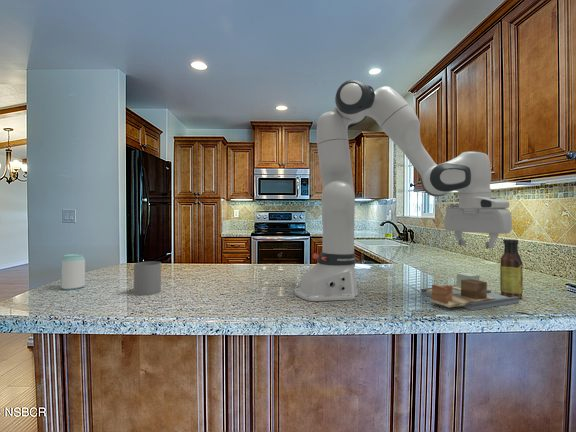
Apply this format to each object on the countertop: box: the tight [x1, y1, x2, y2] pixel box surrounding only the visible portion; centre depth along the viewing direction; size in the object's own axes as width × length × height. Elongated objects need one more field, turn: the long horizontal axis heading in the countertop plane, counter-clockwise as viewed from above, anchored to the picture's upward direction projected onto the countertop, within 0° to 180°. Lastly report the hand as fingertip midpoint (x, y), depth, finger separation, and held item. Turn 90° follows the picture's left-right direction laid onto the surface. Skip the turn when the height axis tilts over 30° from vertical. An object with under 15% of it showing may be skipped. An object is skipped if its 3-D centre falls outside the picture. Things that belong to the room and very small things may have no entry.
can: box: [60, 253, 86, 291], centre depth 108 cm, size 7×7×12 cm
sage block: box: [456, 272, 480, 288], centre depth 108 cm, size 5×5×5 cm
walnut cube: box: [461, 279, 488, 300], centre depth 96 cm, size 5×5×5 cm
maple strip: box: [429, 284, 495, 308], centre depth 94 cm, size 20×7×5 cm, turn 112°
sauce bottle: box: [499, 238, 524, 299], centre depth 104 cm, size 7×6×20 cm
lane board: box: [420, 284, 520, 311], centre depth 101 cm, size 22×19×2 cm
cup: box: [133, 260, 162, 297], centre depth 104 cm, size 8×8×10 cm
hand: (475, 246), depth 95 cm, fingers open, 8 cm apart
